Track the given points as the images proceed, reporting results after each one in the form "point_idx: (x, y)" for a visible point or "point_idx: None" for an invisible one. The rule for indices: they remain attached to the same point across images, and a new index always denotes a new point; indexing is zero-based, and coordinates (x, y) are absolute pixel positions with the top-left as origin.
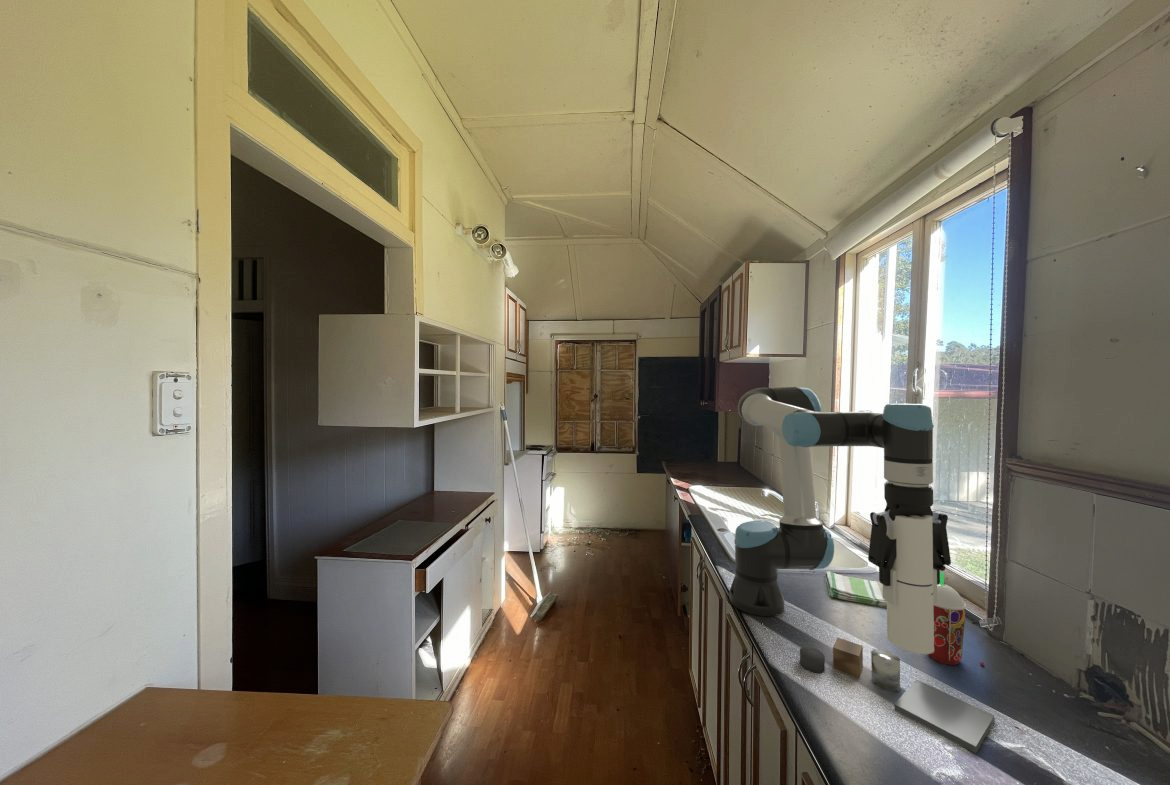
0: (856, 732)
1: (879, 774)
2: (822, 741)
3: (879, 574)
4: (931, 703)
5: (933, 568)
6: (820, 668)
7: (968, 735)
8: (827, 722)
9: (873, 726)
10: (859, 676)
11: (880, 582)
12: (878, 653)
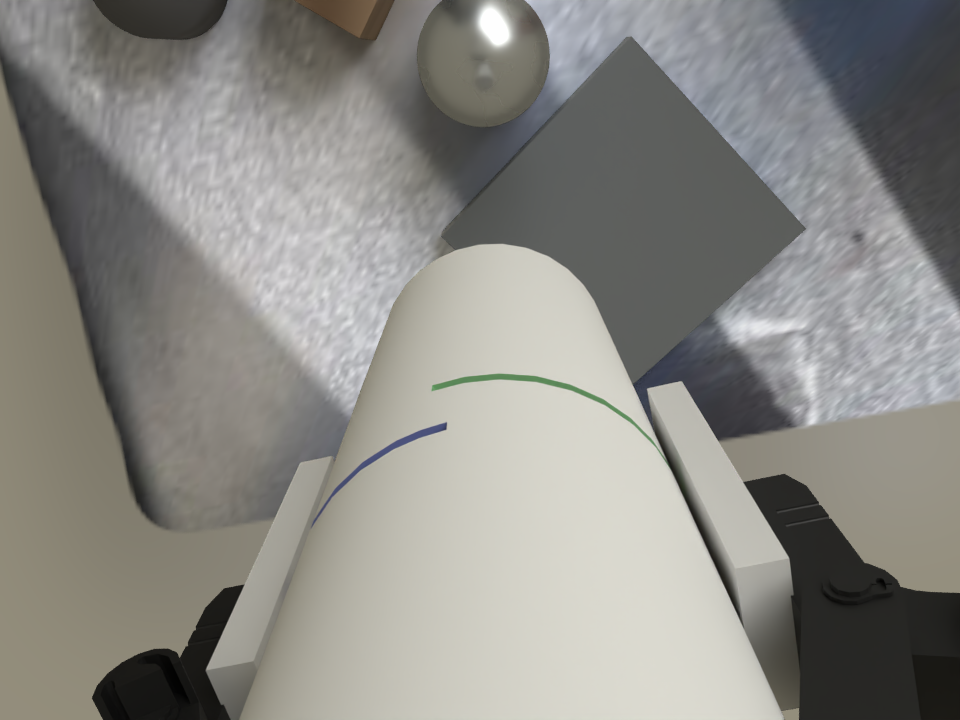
0: (258, 372)
1: (275, 515)
2: (136, 431)
3: (186, 655)
4: (596, 203)
5: (799, 671)
6: (193, 33)
7: (626, 353)
8: (169, 345)
9: (327, 333)
10: (375, 38)
11: (223, 595)
12: (457, 35)
